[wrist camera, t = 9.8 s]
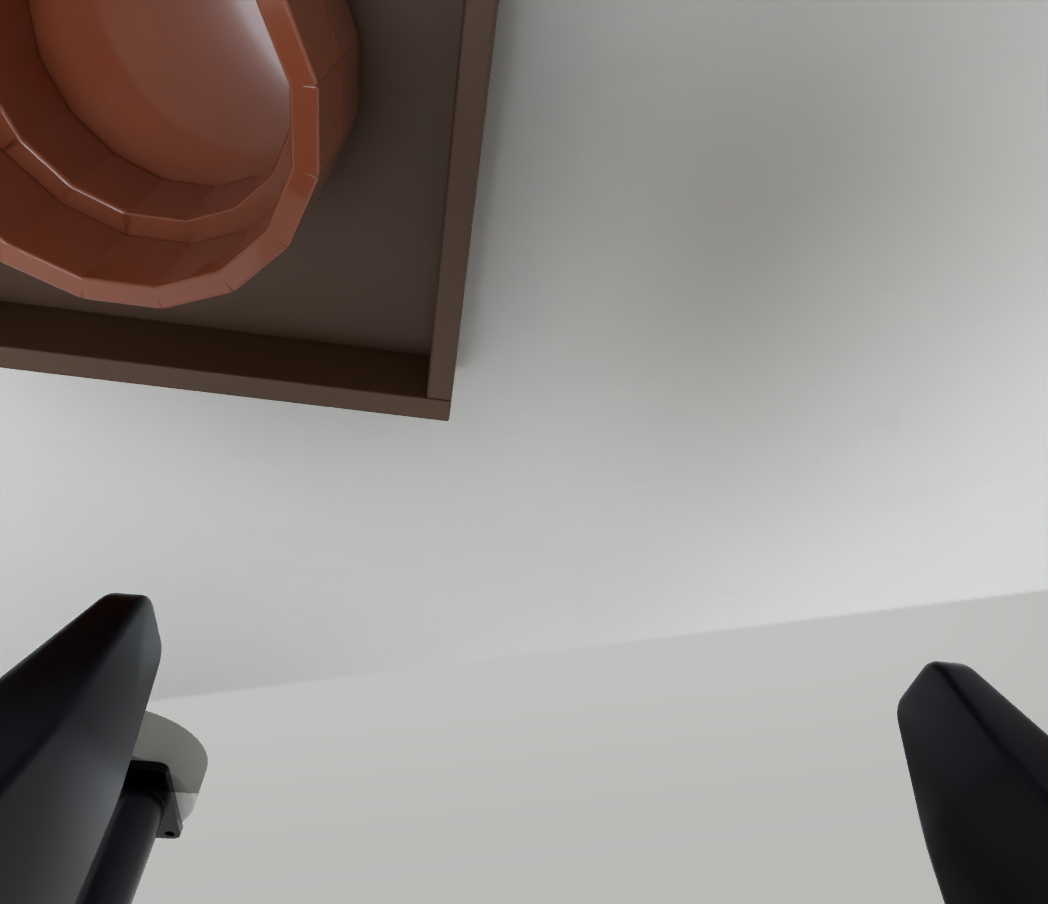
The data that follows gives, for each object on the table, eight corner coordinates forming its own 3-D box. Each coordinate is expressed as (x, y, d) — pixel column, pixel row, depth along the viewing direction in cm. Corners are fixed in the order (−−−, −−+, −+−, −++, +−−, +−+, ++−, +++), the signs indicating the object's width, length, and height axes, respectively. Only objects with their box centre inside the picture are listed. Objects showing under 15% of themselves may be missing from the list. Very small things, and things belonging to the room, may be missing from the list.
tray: (454, 370, 20) (448, 422, 19) (-28, 309, 19) (-87, 357, 17) (545, -399, 12) (552, -448, 10) (-313, -601, 11) (-494, -705, 9)
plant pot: (358, 237, 18) (320, 330, 14) (38, 192, 17) (-87, 277, 13) (367, -145, 13) (316, -150, 10) (-59, -227, 13) (-281, -265, 9)
